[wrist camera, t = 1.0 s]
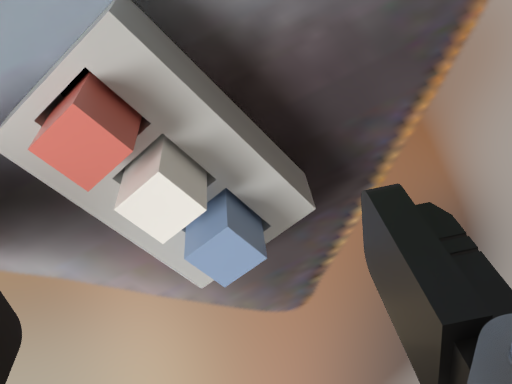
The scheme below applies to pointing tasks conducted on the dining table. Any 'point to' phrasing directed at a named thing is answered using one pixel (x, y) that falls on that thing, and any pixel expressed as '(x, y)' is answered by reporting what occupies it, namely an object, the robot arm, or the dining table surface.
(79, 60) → the button panel
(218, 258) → the blue key
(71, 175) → the red key
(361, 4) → the dining table surface
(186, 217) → the white key
